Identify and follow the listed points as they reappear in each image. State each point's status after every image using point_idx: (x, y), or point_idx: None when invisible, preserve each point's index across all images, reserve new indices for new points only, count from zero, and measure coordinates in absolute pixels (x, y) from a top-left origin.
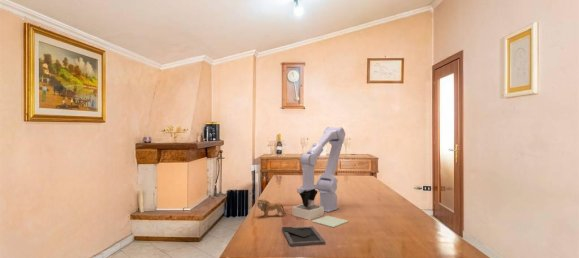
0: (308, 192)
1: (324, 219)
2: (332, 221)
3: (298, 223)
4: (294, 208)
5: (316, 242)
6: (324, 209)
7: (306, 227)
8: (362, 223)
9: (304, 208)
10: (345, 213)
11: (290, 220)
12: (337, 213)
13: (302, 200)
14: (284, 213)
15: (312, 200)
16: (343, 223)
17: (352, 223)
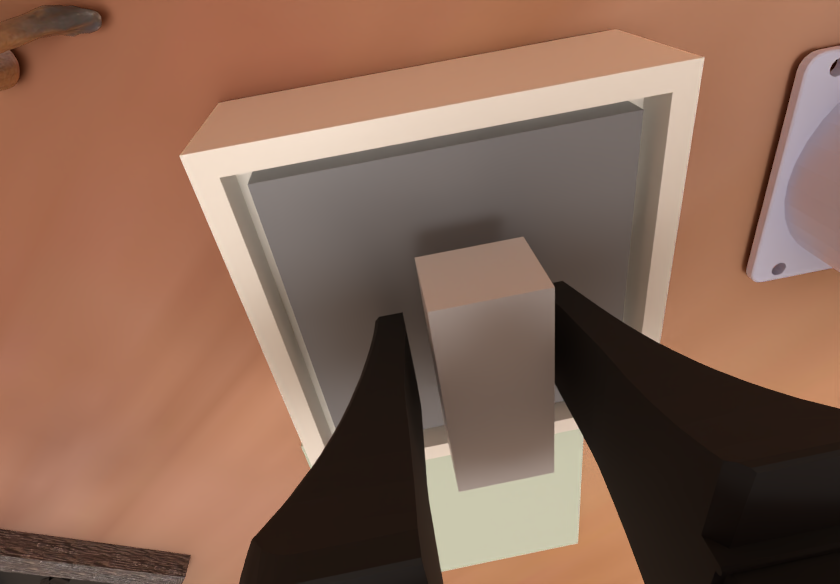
0: (679, 475)
1: (449, 460)
2: (461, 516)
3: (127, 420)
4: (210, 204)
5: None
6: (790, 219)
7: (110, 579)
8: (608, 579)
9: (373, 317)
10: (807, 385)
11: (69, 298)
12: (762, 350)
13: (355, 394)
14: (31, 37)
15: (553, 444)
16: (501, 553)
17: (558, 563)
